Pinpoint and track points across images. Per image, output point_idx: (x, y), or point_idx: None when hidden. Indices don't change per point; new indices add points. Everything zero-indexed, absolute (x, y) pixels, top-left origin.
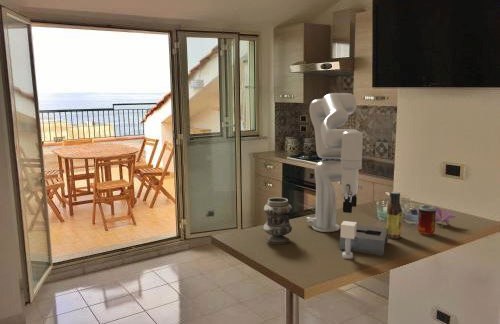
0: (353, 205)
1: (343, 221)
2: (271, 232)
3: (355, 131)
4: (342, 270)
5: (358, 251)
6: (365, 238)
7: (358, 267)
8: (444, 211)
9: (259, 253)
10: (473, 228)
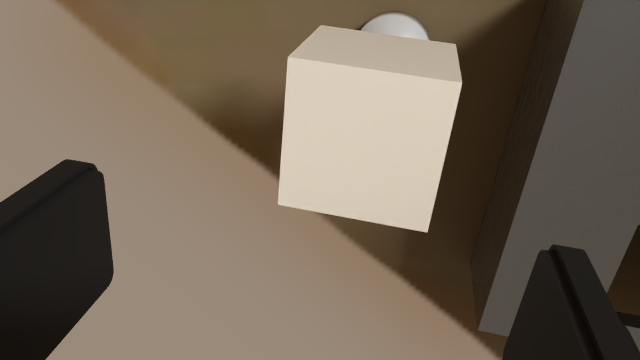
0: (514, 339)
1: (429, 83)
2: None
3: None
4: (164, 29)
5: (511, 125)
6: (513, 217)
7: (244, 121)
8: None
9: None
10: None
